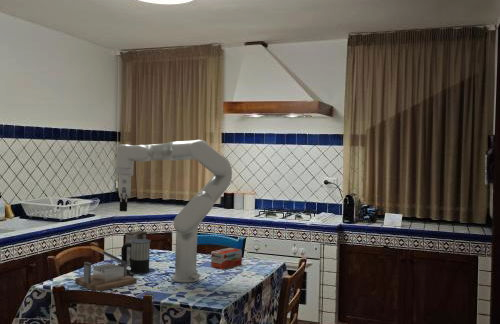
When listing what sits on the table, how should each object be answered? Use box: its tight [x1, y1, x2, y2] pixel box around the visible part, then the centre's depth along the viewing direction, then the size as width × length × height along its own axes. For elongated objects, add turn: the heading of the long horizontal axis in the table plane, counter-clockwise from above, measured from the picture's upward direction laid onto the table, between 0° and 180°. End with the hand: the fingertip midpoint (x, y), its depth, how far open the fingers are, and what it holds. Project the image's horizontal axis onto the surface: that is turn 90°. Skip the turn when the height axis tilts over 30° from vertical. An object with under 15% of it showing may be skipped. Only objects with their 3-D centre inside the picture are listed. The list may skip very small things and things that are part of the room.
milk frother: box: [120, 239, 151, 277], centre depth 231 cm, size 14×16×15 cm
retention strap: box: [90, 245, 126, 264], centre depth 214 cm, size 17×6×1 cm, turn 138°
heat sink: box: [83, 261, 128, 283], centre depth 213 cm, size 10×18×8 cm, turn 137°
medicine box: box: [210, 247, 243, 270], centre depth 251 cm, size 15×8×8 cm, turn 141°
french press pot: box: [124, 230, 148, 266], centre depth 249 cm, size 9×6×16 cm
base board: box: [74, 274, 138, 292], centre depth 214 cm, size 18×19×2 cm
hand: (123, 209), depth 222 cm, fingers open, 9 cm apart
